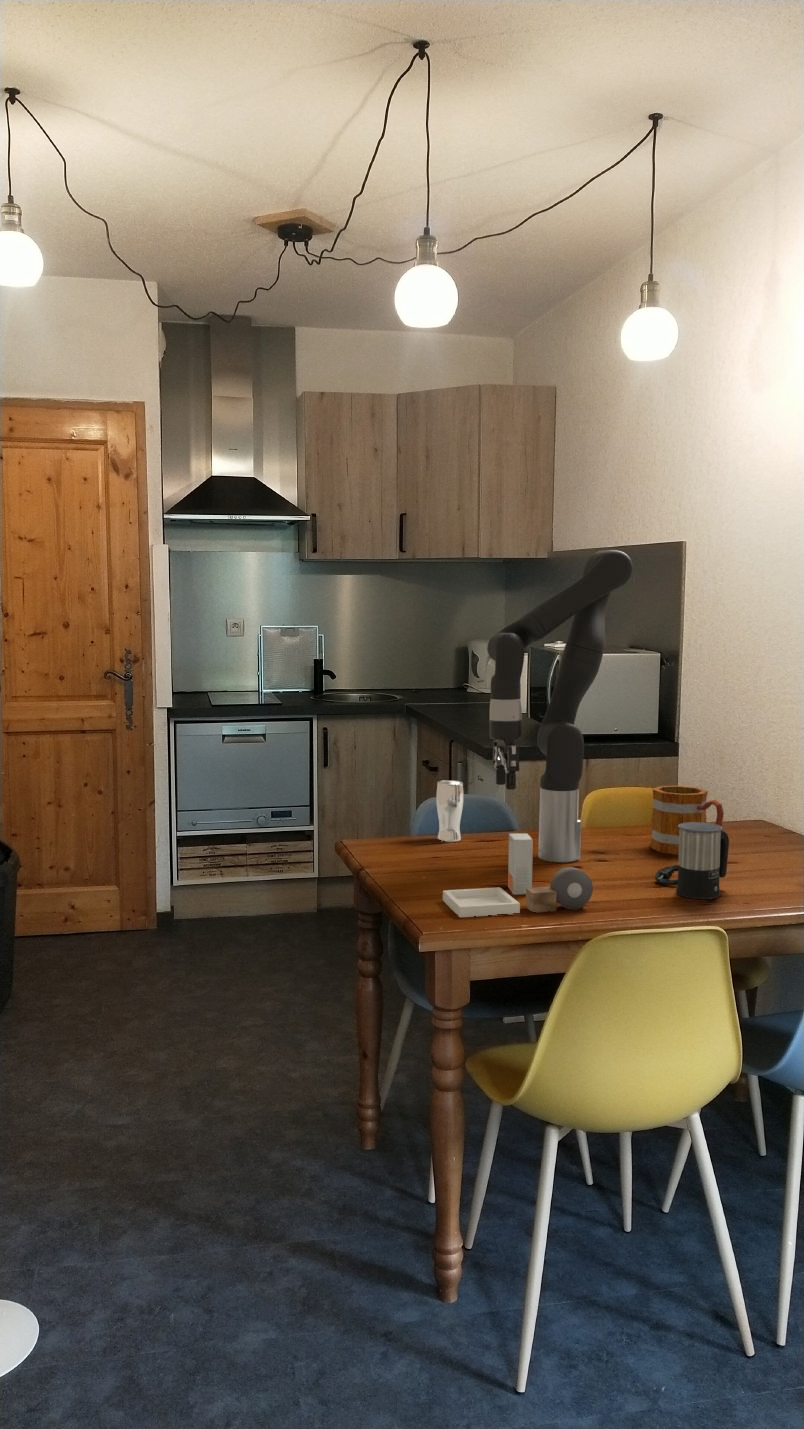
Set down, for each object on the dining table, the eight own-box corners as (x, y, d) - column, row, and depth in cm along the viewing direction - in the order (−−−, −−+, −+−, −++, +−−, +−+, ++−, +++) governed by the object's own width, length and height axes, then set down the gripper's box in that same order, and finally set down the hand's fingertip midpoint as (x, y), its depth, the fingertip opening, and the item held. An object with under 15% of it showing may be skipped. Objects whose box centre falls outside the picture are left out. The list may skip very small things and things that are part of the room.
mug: (639, 847, 278) (641, 788, 276) (673, 840, 286) (675, 783, 284) (702, 862, 262) (705, 800, 261) (737, 855, 270) (740, 795, 269)
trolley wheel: (585, 903, 226) (586, 865, 225) (592, 908, 222) (593, 870, 222) (549, 906, 224) (550, 867, 223) (555, 910, 221) (556, 872, 220)
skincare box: (507, 887, 238) (508, 833, 237) (526, 887, 239) (527, 833, 237) (512, 895, 232) (513, 839, 231) (532, 894, 233) (533, 839, 231)
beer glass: (465, 837, 287) (466, 781, 285) (458, 843, 280) (459, 785, 278) (440, 835, 289) (441, 779, 287) (432, 841, 282) (433, 783, 281)
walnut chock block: (548, 905, 224) (549, 886, 224) (556, 911, 220) (556, 891, 220) (525, 907, 223) (526, 887, 223) (532, 912, 219) (533, 893, 219)
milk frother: (712, 902, 228) (715, 832, 226) (639, 891, 236) (641, 823, 235) (731, 887, 240) (734, 821, 238) (661, 877, 248) (663, 812, 247)
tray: (499, 897, 230) (499, 887, 230) (519, 913, 218) (519, 903, 218) (442, 900, 227) (442, 890, 227) (459, 917, 215) (460, 907, 215)
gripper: (530, 720, 251) (529, 790, 252) (512, 715, 265) (512, 782, 266) (498, 721, 249) (498, 791, 251) (482, 716, 263) (482, 783, 265)
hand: (505, 786), depth 258 cm, fingers open, 8 cm apart
